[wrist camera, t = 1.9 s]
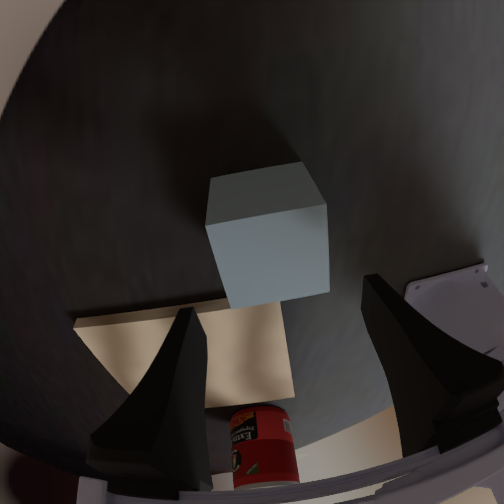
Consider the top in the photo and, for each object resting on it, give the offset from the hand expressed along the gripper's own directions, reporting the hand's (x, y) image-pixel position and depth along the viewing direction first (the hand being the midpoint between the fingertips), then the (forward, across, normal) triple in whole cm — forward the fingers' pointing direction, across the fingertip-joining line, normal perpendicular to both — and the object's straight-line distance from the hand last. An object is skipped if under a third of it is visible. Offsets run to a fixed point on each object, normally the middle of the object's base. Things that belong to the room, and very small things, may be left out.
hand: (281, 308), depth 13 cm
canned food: (+9, +5, +30) cm, 32 cm away
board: (+8, +9, +15) cm, 19 cm away
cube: (+9, 0, 0) cm, 9 cm away
